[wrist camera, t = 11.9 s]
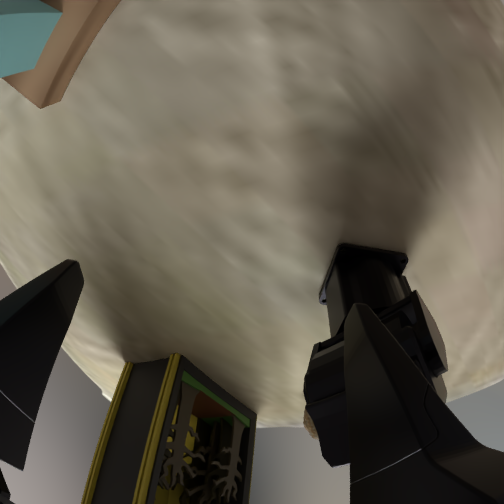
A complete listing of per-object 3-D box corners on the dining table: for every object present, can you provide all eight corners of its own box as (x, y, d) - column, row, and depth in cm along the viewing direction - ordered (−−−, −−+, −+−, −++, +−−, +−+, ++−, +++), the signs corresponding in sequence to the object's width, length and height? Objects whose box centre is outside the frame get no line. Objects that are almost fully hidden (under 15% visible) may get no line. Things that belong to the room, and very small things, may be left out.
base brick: (121, -1, 13) (102, -5, 11) (60, 101, 17) (40, 108, 15) (50, -34, 9) (31, -36, 7) (3, 57, 14) (-17, 62, 12)
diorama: (258, 415, 44) (242, 580, 20) (206, 420, 48) (183, 566, 24) (179, 352, 34) (127, 587, 10) (124, 362, 38) (69, 551, 14)
